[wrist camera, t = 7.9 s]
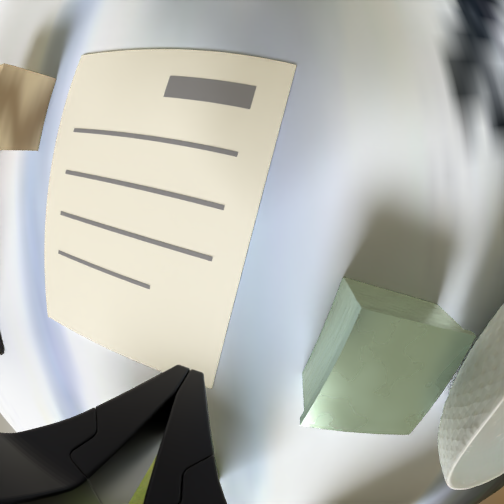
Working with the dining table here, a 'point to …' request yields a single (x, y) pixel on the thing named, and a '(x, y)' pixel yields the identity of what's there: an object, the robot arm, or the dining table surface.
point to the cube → (23, 107)
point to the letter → (159, 198)
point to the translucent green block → (380, 361)
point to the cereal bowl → (476, 414)
